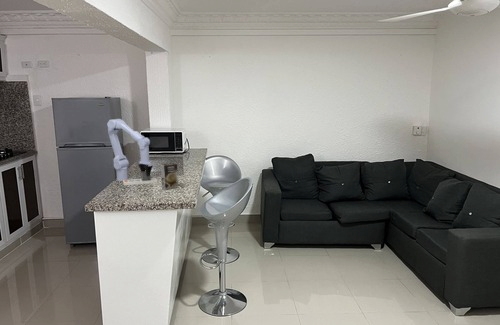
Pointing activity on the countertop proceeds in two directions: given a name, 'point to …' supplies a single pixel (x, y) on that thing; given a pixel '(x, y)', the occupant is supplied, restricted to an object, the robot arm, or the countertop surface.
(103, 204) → the countertop surface
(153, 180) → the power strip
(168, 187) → the coffee box
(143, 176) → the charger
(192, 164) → the countertop surface
